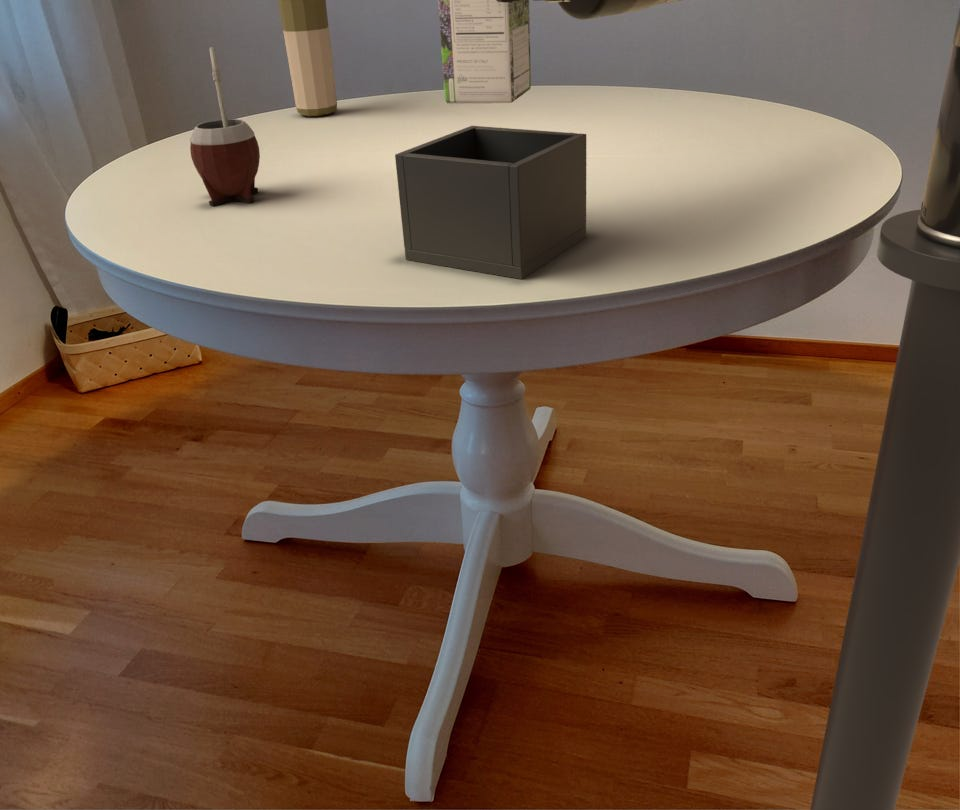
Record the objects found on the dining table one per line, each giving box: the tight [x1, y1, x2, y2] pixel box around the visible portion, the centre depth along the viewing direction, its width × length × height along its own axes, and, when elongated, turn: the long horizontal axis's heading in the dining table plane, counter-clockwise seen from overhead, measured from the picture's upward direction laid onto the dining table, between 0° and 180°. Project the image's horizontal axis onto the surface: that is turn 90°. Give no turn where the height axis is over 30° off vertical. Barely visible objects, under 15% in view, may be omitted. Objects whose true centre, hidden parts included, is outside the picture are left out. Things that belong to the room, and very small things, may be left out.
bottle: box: [277, 0, 338, 118], centre depth 131 cm, size 7×7×30 cm
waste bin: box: [394, 125, 587, 280], centre depth 75 cm, size 12×12×9 cm
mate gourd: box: [189, 46, 261, 207], centre depth 94 cm, size 8×8×15 cm
